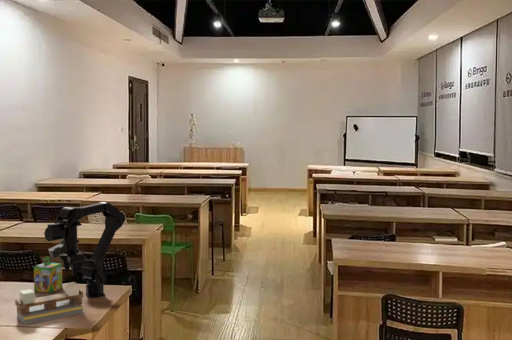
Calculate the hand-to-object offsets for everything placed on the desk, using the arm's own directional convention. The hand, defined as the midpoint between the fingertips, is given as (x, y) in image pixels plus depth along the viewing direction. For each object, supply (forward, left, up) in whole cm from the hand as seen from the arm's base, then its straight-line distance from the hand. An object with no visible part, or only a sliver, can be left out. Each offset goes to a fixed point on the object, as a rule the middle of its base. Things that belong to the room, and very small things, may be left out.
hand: (70, 274), depth 230 cm
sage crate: (+20, +11, -5) cm, 24 cm away
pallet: (+12, +11, -9) cm, 18 cm away
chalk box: (+2, -24, -12) cm, 27 cm away
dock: (+12, +11, -12) cm, 20 cm away
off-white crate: (+3, +11, -5) cm, 12 cm away
